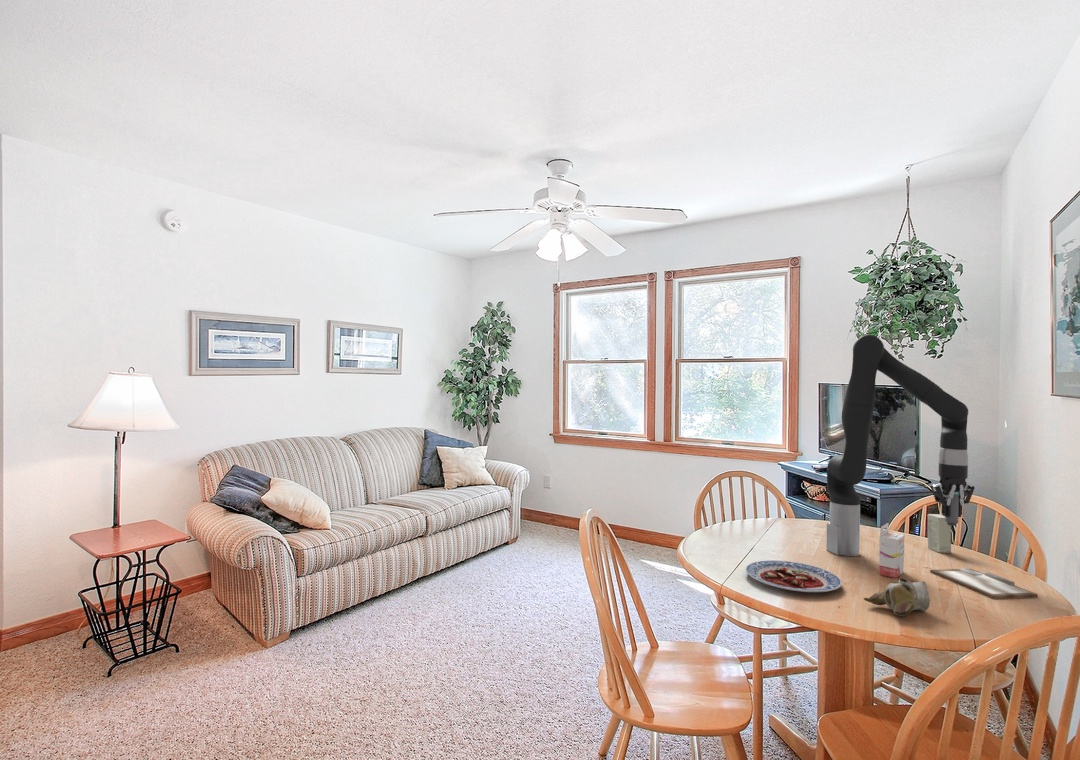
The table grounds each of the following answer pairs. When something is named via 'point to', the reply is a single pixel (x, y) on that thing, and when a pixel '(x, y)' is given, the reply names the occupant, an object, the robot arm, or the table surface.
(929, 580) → the table surface
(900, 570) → the ink cartridge box
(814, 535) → the table surface
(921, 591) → the ceramic sculpture
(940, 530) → the skincare box
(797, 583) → the ceramic plate
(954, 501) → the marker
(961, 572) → the clipboard
